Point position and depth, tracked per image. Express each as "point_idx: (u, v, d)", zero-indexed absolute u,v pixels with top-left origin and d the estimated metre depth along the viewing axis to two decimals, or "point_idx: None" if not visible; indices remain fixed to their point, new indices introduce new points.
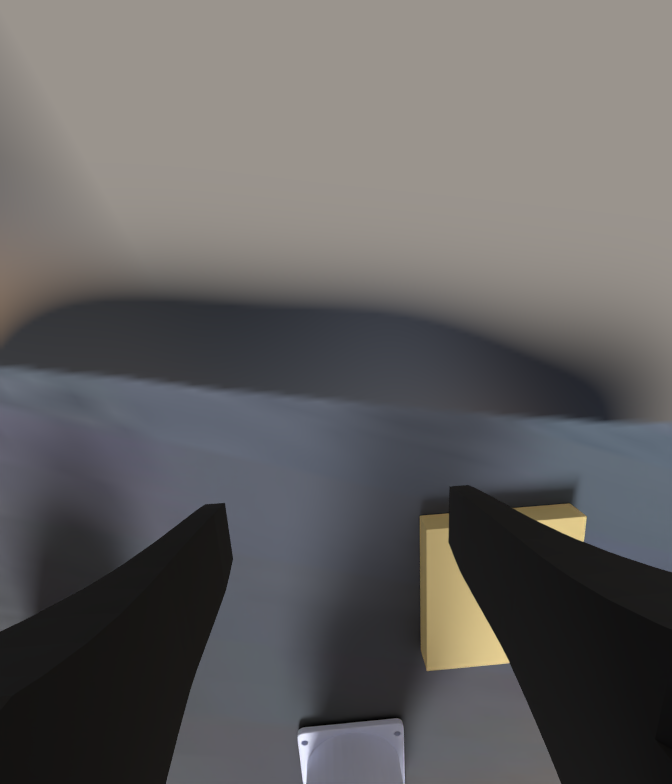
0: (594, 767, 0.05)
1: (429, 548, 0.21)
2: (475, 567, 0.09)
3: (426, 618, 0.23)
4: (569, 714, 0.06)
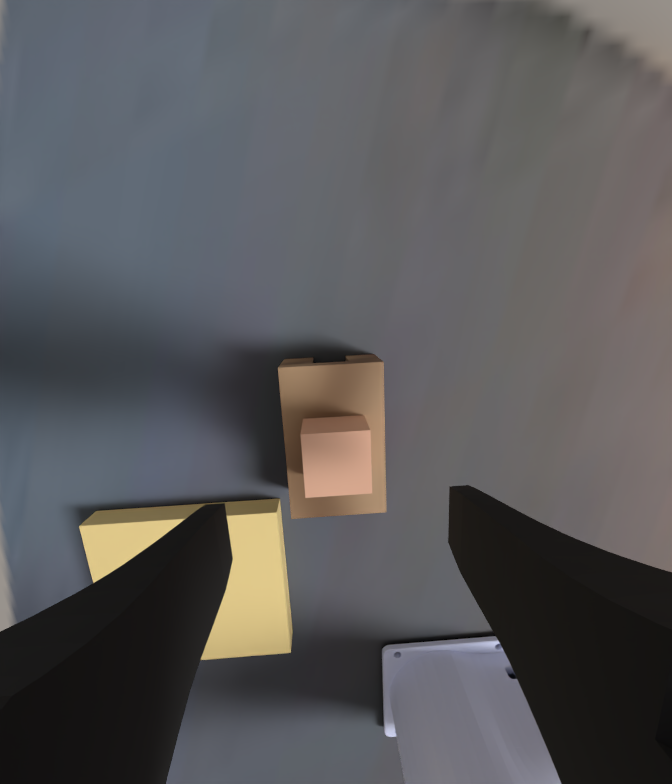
0: (594, 768, 0.05)
1: None
2: (475, 567, 0.09)
3: (223, 656, 0.22)
4: (569, 714, 0.06)
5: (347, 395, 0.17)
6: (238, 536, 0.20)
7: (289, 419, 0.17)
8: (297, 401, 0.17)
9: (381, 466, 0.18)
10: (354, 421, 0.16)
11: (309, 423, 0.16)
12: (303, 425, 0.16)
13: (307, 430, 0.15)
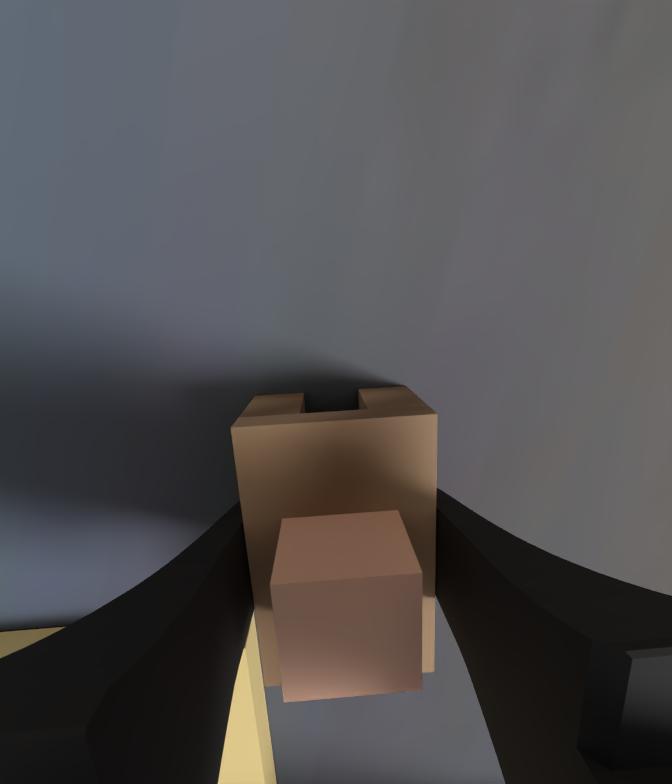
0: (531, 774, 0.05)
1: None
2: (438, 570, 0.09)
3: None
4: (511, 719, 0.06)
5: (366, 477, 0.09)
6: None
7: (257, 521, 0.09)
8: (270, 489, 0.09)
9: (427, 598, 0.10)
10: (381, 532, 0.08)
11: (293, 537, 0.08)
12: (280, 544, 0.08)
13: (286, 566, 0.07)
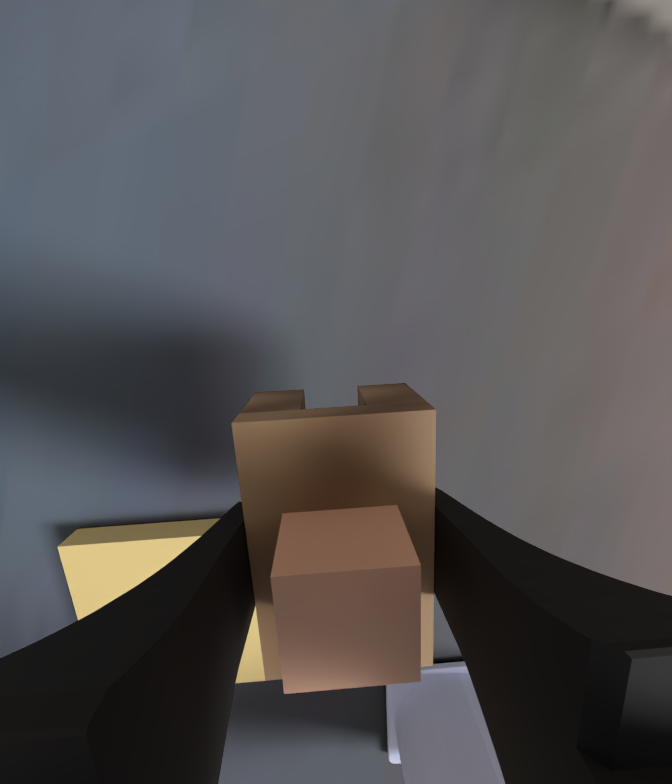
0: (531, 773, 0.05)
1: None
2: (438, 570, 0.09)
3: None
4: (511, 719, 0.06)
5: (366, 472, 0.09)
6: None
7: (257, 516, 0.09)
8: (271, 484, 0.09)
9: (426, 592, 0.10)
10: (380, 526, 0.08)
11: (293, 531, 0.08)
12: (280, 538, 0.08)
13: (286, 559, 0.07)
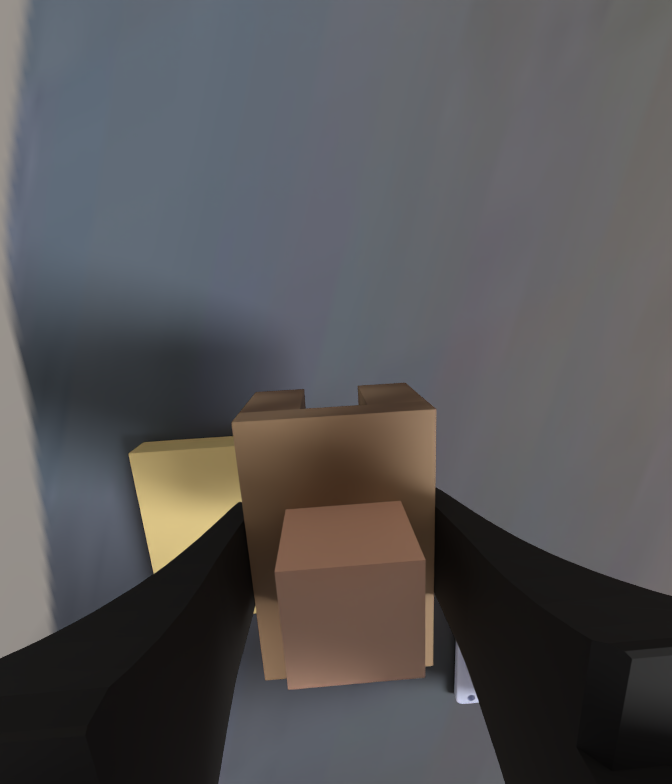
0: (531, 774, 0.05)
1: None
2: (438, 570, 0.09)
3: None
4: (511, 719, 0.06)
5: (366, 471, 0.09)
6: None
7: (258, 515, 0.09)
8: (271, 483, 0.09)
9: (426, 592, 0.10)
10: (384, 522, 0.08)
11: (296, 526, 0.08)
12: (284, 533, 0.08)
13: (290, 554, 0.07)
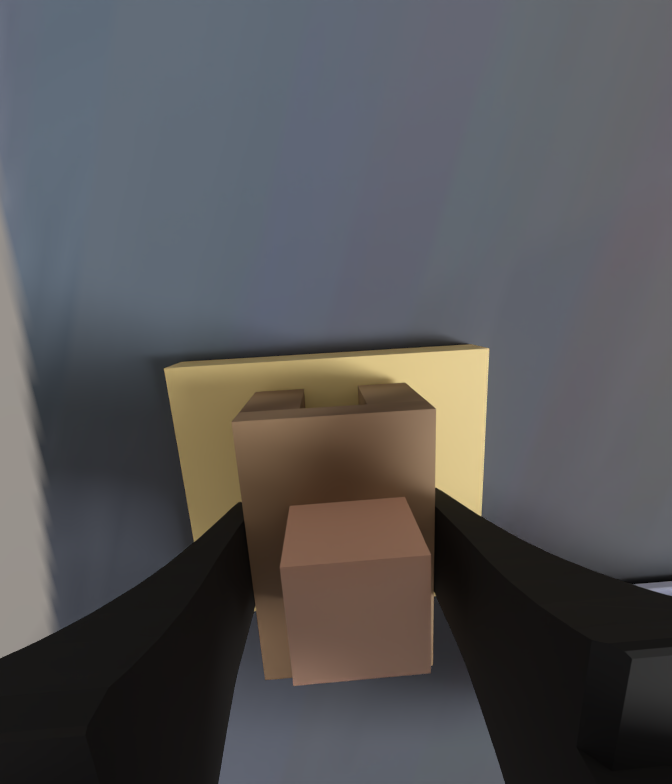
0: (531, 773, 0.05)
1: None
2: (438, 570, 0.09)
3: None
4: (511, 719, 0.06)
5: (366, 471, 0.09)
6: (422, 390, 0.12)
7: (257, 515, 0.09)
8: (271, 483, 0.09)
9: None
10: (389, 517, 0.08)
11: (301, 522, 0.08)
12: (288, 530, 0.08)
13: (295, 550, 0.07)
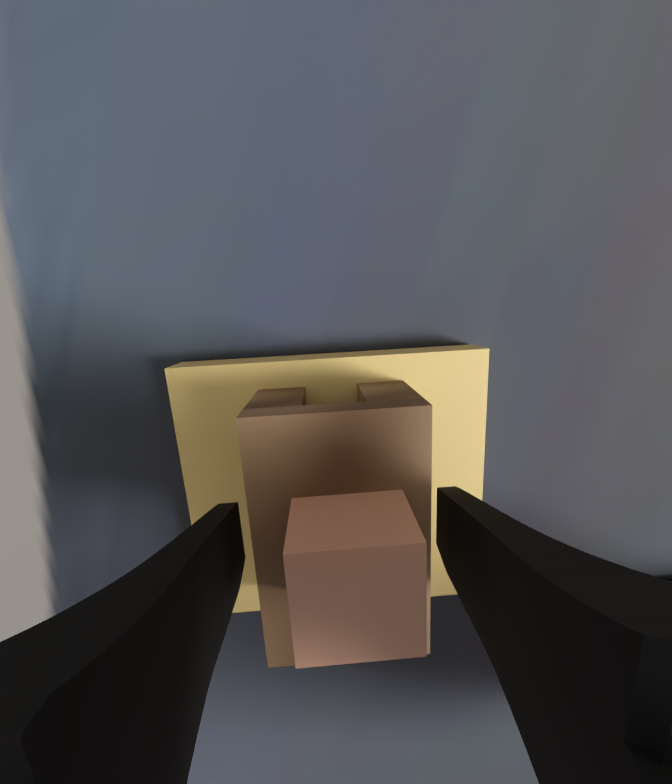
0: (569, 769, 0.05)
1: (240, 608, 0.14)
2: (460, 568, 0.09)
3: None
4: (546, 716, 0.06)
5: (365, 465, 0.09)
6: (422, 390, 0.12)
7: (260, 507, 0.09)
8: (274, 477, 0.09)
9: None
10: (387, 509, 0.08)
11: (302, 513, 0.08)
12: (291, 520, 0.08)
13: (297, 538, 0.08)
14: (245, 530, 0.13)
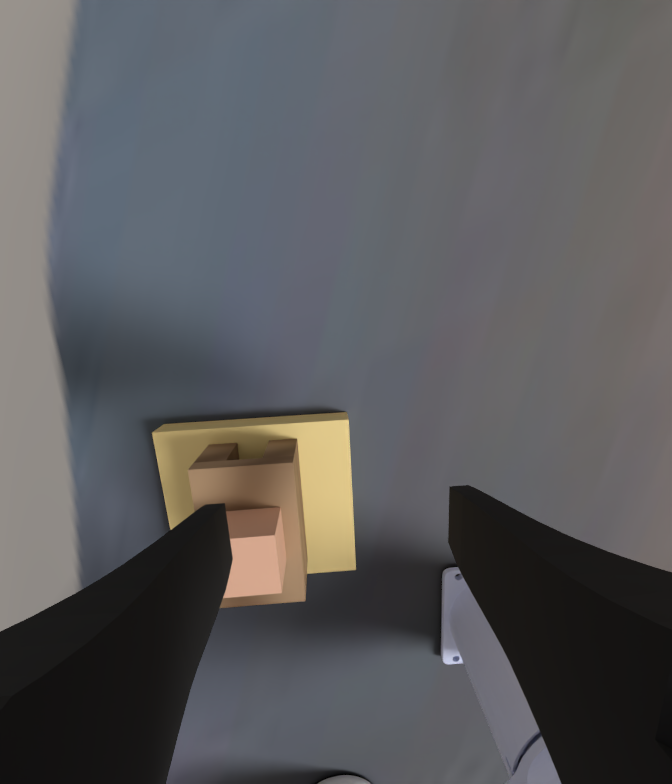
0: (594, 767, 0.05)
1: None
2: (475, 567, 0.09)
3: None
4: (569, 714, 0.06)
5: (259, 494, 0.17)
6: (309, 444, 0.20)
7: None
8: (209, 500, 0.17)
9: (297, 558, 0.18)
10: (266, 518, 0.16)
11: None
12: None
13: None
14: None
